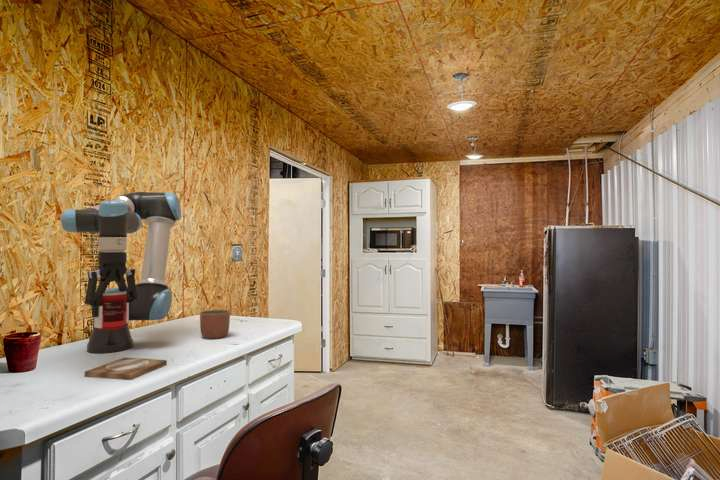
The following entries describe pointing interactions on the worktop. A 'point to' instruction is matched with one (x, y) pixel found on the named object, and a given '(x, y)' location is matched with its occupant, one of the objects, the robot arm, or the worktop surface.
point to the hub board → (126, 368)
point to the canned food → (113, 310)
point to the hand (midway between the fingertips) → (111, 325)
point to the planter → (214, 323)
